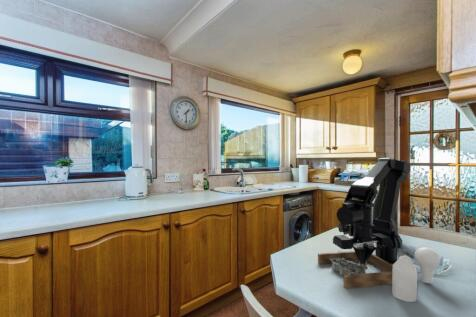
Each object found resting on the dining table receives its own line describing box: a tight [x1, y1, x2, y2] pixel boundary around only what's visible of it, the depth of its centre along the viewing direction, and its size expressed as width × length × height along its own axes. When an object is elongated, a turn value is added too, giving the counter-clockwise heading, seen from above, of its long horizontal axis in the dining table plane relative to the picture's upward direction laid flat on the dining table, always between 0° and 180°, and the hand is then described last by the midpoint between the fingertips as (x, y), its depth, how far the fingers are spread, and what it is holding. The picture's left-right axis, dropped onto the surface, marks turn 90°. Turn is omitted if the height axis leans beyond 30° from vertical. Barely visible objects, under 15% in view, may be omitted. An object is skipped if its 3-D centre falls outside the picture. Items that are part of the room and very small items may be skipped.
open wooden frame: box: [317, 250, 393, 290], centre depth 79 cm, size 20×17×4 cm
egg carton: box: [330, 257, 369, 276], centre depth 79 cm, size 11×8×4 cm
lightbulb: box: [414, 246, 441, 284], centre depth 72 cm, size 6×6×11 cm
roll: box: [391, 254, 418, 303], centre depth 65 cm, size 6×12×6 cm
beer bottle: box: [372, 177, 399, 228], centre depth 108 cm, size 10×10×33 cm
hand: (361, 265), depth 79 cm, fingers closed
